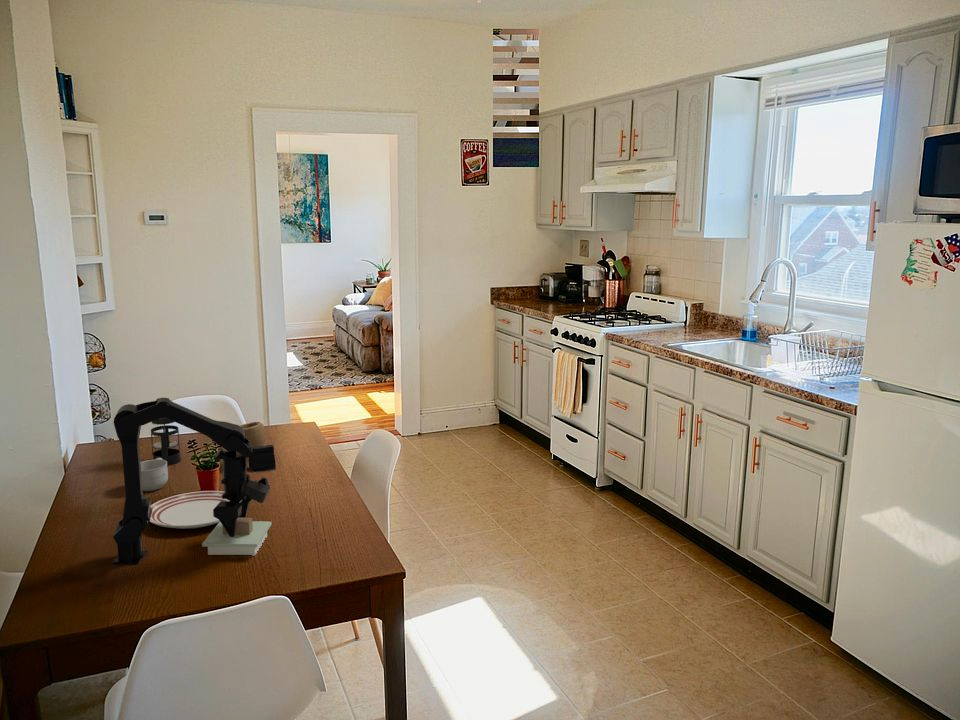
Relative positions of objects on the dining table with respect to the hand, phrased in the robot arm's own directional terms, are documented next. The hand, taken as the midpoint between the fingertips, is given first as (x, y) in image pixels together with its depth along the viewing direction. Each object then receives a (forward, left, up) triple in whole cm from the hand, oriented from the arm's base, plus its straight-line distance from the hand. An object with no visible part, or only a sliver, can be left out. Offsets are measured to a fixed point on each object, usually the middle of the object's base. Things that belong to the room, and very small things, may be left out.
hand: (237, 529), depth 195 cm
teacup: (+42, +40, -5) cm, 58 cm away
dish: (0, 0, -5) cm, 5 cm away
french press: (+65, +45, -5) cm, 79 cm away
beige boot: (+63, +13, -5) cm, 64 cm away
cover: (0, 0, -2) cm, 2 cm away
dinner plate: (+19, +18, -5) cm, 27 cm away
